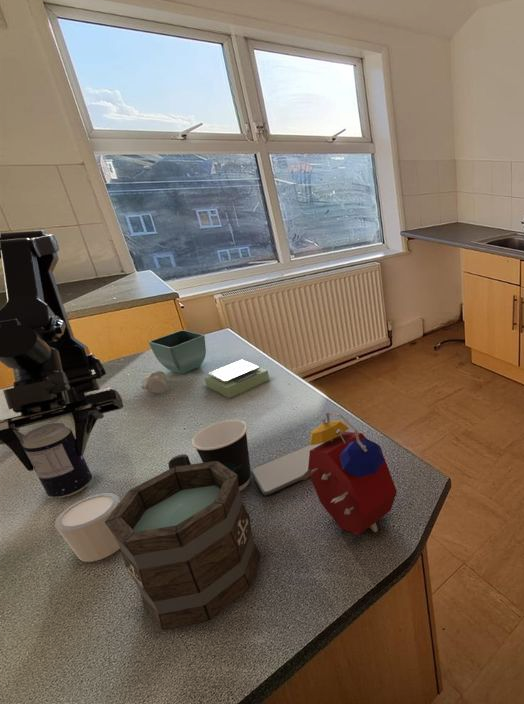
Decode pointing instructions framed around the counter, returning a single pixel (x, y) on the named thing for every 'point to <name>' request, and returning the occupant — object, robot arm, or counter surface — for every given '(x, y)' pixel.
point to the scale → (237, 383)
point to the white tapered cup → (89, 527)
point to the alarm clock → (350, 476)
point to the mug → (186, 541)
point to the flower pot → (180, 350)
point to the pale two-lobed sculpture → (155, 382)
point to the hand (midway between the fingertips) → (56, 462)
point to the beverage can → (57, 460)
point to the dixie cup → (226, 447)
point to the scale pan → (233, 371)
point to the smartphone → (282, 470)
